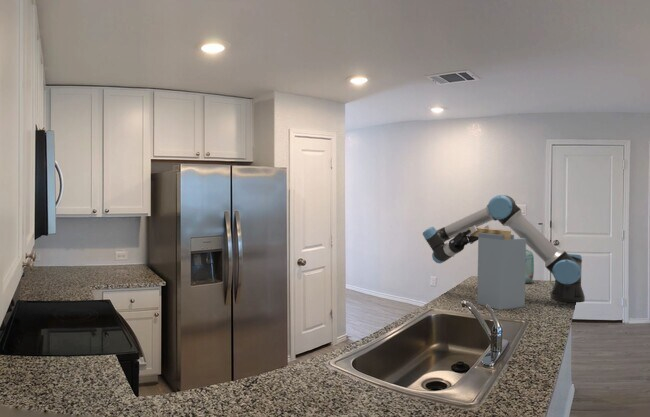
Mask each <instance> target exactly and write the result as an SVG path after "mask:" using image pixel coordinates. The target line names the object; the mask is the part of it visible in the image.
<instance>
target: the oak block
mask: <svg viewBox="0 0 650 417" xmlns="http://www.w3.org/2000/svg"><path fill="white" fill-rule="evenodd" d="M470 228H471V227H468V229H470ZM476 229H477V231H476V232H474V233H473V234H471V235H470V236H477V237H478V233H486V234H495V235H504V240H509V239H511V235H512V230H508V229H506V230H505V229H497V228H495V229H494V228H490V229H488V228H484V227H476Z"/></svg>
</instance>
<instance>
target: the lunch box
mask: <svg viewBox="0 0 650 417" xmlns="http://www.w3.org/2000/svg"><path fill="white" fill-rule="evenodd" d="M534 256H535V255H534V253H533V252H532V251H531V250H530V249H527V248H526V267H525V284H526V283H527V284H528V283H531V282H532V281H533V279H534V274H535V260H534V259H535V257H534Z"/></svg>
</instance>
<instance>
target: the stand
mask: <svg viewBox="0 0 650 417" xmlns="http://www.w3.org/2000/svg"><path fill="white" fill-rule="evenodd" d="M477 242H478V244H477V292H476V295H477V296H476V304H478V305H481V306H484V307H487V306H486V305H487V304H488V305H490V306H491V307H492V308H491V307H490V308H491V309H494V310H498V311H503V309H504V310H511V309H517V308H523V307H526V306H525V303H526V300H525V299H526V283H525V267H526V249H527V244H526V239H525V238H520V237H515V235H514V234H511V239H509V240H504V235H495V234H486V233H478V240H477Z"/></svg>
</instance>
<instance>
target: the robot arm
mask: <svg viewBox="0 0 650 417" xmlns="http://www.w3.org/2000/svg"><path fill="white" fill-rule="evenodd" d="M491 221H495V222H496V221H498V222H499V224H501V225H502V226H504V227H509V229H511V231H513V232H514V233H515V234H516V235H517V236H518V238H525V239H526V246H528V247H529V248H530V249H531V250H532V251H533V252H534V253H535V254H536V255H537V256H538V257H540V259H541V260H542V261H543V262H544V267H545V268H546V269H547V270H548V271H549V272H550V273H551V275H552V276H553V278H554V285H553V287H552V290H551V293H550V299H551V300H554V301H558V302H564V303H575V302H576V304H577V303H584V302H585V301H586V297H585V294H584V290H583V287H582V266H583V265H582V262H583V257H582V255H580V254H576V253H573V254H572V253H567V251H566V250H560V249H559V248H557V247H556V246H555V245H554V243H552V242H551V241H550V240H549V239H548V238H546V236H545V235H544V234H543V233H542V232H541V231H540V230H539V229H537V228H536V226H534V225H533V223H531V222H530V221H529V220H528V219H527V218H526V217H525V216H524V215H523V214H522V209H521V208H520V207H519V206H518V205H517V204H516V201H515V200H514V199H513V197H511V196H510V195H503V194H499V195H496V196H494V197H492V198H491V199H490V200H489V201H488V204H487V205H486V206H485V207H484V208H481V209H480V210H478V211H476V212H473V213H471V214H469V215H466V216H465V217H463V218H461V219H459V220H456V221H455V222H452V223H450V224H448V225H446V226H444V227H442V228H439V229H436V228H435V227H434V226H430V227H427V229H425V230H424V231H423V232H422V237H423V238H424V239H425V241H426V243H427V244H428V246H429V247H430V249H431V250H432V255H431V256H432V260H433V261H434V262H435V263H436V264H443V263H445V262H446V261H448V260H449V259H451V258H453V257H455V255H457V254H459V253H460V252H462V251H463V250H464V249H465V246H467V245H468V244H470V245H473V243H475V242H478V237H477V236H470V235H471V234H473V233H474V232H476V231H477V229H476V227H477V228H479V227H480V226H482V225H484V224H487V223H488V222H491ZM468 227H471V228H470V229H468ZM483 228H488V229H491V227H490V225H489V224H487V225H486V226H484V227H483ZM445 242H446V243H445Z"/></svg>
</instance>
